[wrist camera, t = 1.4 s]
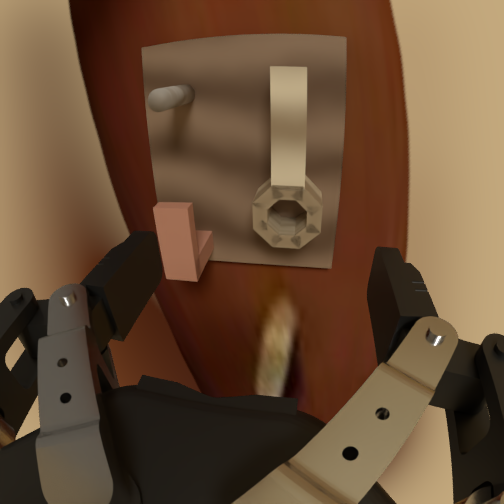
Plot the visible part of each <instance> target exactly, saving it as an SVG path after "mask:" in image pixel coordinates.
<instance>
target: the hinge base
mask: <svg viewBox="0 0 504 504" xmlns="http://www.w3.org/2000/svg"><path fill="white" fill-rule="evenodd" d="M142 65H143V80H144V93H145V104H146V115H147V125H148V134H149V143H150V151H151V159H152V167H153V174H154V181H155V188H156V195H157V201H158V203H159V202H186V203H193V212H194V221H195V229H196V230H201V231H212V234H213V244H214V249H213V251H212V253H211V255H210V257H209V259H208V260H214V261H228V262H242V263H256V264H270V265H285V266H300V267H315V268H331V266H332V258H333V250H334V242H335V234H336V225H337V216H338V206H339V196H340V185H341V173H342V160H343V145H344V127H345V104H346V37H339V36H326V35H309V34H250V35H232V36H219V37H209V38H200V39H192V40H184V41H178V42H171V43H165V44H159V45H154V46H149V47H144V48H142ZM270 66H288V67H307V132H306V166H305V175H306V176H307V177H308V178H309V179H310V180H311V181H312V182H313V183H314V184H315V186H316V187H317V188H318V189H319V190H320V191H321V193H322V203H323V209H322V221H321V233H320V234H318V235H317V236H316V237H314V238H313V239H312V240H311V241H309V242H308V243H307V244H305V245H304V246H303V247H301V248H300V249H296V248H280V247H272V246H271V245H270V244H269V243H268V242H267V241H265V240H264V239H263V238H262V237H261V236H260V235H259V234H258V233H257V232H256V231H255V230H254V229H253V206H252V203H253V200H254V198H255V195H256V193H257V190H258V188H259V187H260V186H262V185H263V184H264V183H265V182H266V181H267V180H268V179H269V178H270V177H271V99H270ZM272 208H273V209H274V210H275V211H276V212H277V213H278V214H279V215H280V216H281V217H291V218H296V217H298V216H299V215H300V214H301V213H303V212H304V211H305V209H304V208H303V207H302V206H301V205H300V204H299V203H298V202H297V201H296V200H278V201H277V202H276V203H275V204H273V205H272Z"/></svg>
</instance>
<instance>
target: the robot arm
mask: <svg viewBox="0 0 504 504" xmlns="http://www.w3.org/2000/svg"><path fill="white" fill-rule="evenodd" d="M161 278H162V263H161V258H160V253H159V248H158V242H157V237H156V235H155V233H154V232H151V231H134V232H133V233H132V234H131V235H130V236H129V237H128V238H127V239H126V240H125V241H124V242H123V243H121V244H119V245H117V246H116V247H114V248H112V249H111V250H110V251H109V252H108V253H107V254H106V256H105V257H104V258H103V259H102V260H101V261H100V262H99V264H98V265H96V266H95V268H93V270H92V271H91V272H90V273H89V274H88V275H87V276H86V277H85V279H84V280H83V281H82V282H81V283H80V284H68V285H65V286H63V287H61V288H59V289H58V290H56V291H55V292H54V293H53V294H52V295H51V297H50V299H47V300H36V298H35V296H34V294H33V292H32V290H31V289H29V288H20V289H17V290H15V291H13V292H12V293H10V294H9V295H8V296H7V297H6V298H5V299H4V300H3V301H2V302H1V303H0V504H396V503H395V501H394V500H393V499H392V498H391V497H390V496H389V495H388V493H386V491H385V490H384V489H383V488H382V487H381V485H380V484H379V483H378V482H377V480H378V478H379V477H380V476H381V474H382V473H383V472H384V471H385V469H386V468H387V467H388V465H389V464H390V462H391V461H392V459H393V458H394V457H395V455H396V454H397V453H398V451H399V450H400V448H401V447H402V445H403V444H404V442H405V441H406V440H407V438H408V436H409V435H410V433H411V432H412V430H413V429H414V427H415V426H416V424H417V422H418V421H419V419H420V417H421V416H422V414H423V412H424V411H425V409H426V407H427V406H428V405H432V406H436V407H440V408H444V409H445V412H446V418H447V426H448V432H449V442H450V451H451V462H452V476H453V500H454V504H504V336H503V335H500V334H489V335H488V336H486V337H485V339H484V340H483V342H482V344H481V345H479V344H475V343H471V342H467V341H463V340H460V339H458V334H457V332H456V330H455V329H454V327H453V326H452V325H451V324H450V323H448V322H447V321H445V320H443V319H441V318H439V317H438V314H437V312H436V309H435V307H434V305H433V302H432V299H431V297H430V295H429V292H427V288H426V285H425V284H424V281H423V278H422V276H421V274H420V272H419V271H418V270H417V269H416V268H415V267H414V266H413V265H412V264H411V263H404V261H403V259H402V256H401V254H400V251H399V249H398V248H389V247H377V248H376V250H375V254H374V259H373V264H372V268H371V273H370V277H369V282H368V288H367V301H368V307H369V312H370V318H371V324H372V329H373V336H374V342H375V348H376V355H377V362H378V367H377V368H376V370H375V371H374V372H373V373H372V374H371V376H370V377H369V378H368V379H367V381H366V382H365V383H364V384H363V385H362V386H361V388H360V389H359V390H358V391H357V392H356V393H355V394H354V396H353V397H352V398H351V399H350V400H349V401H348V402H347V403H346V405H345V406H344V407H343V408H342V409H341V410H340V411H339V412H338V413H337V414H336V415H335V416H334V418H333V419H332V420H331V421H330V422H329V423H328V424H325V423H324V422H323V421H321V420H319V419H317V418H316V417H314V416H312V415H309V414H307V413H305V412H302V411H298V410H297V401H298V399H295V398H283V397H273V396H263V395H249V396H237V397H221V398H214V397H210V396H207V395H205V394H202V393H200V392H198V391H195V390H193V389H191V388H188V387H186V386H184V385H182V384H180V383H177V382H173V381H168V380H164V379H159V378H154V377H150V376H146V375H142V377H141V379H140V381H139V383H138V385H131V386H124V387H120V386H119V383H118V379H117V375H116V371H115V367H114V363H113V358H112V354H111V350H110V347H109V345H108V343H109V341H110V339H115V340H118V341H124V340H125V338H126V336H127V335H128V333H129V331H130V330H131V328H132V326H133V325H134V323H135V321H136V320H137V318H138V316H139V315H140V313H141V312H142V310H143V308H144V307H145V305H146V304H147V302H148V300H149V299H150V297H151V296H152V294H153V292H154V291H155V289H156V288H157V286H158V285H159V283H160V281H161ZM17 337H18V338H19V339H20V341H21V343H22V344H23V346H24V348H25V350H24V352H23V353H22V355H21V356H20V358H19V359H18V360H17V362H16V364H15V365H14V367H13V368H12V370H11V371H10V370H9V369H8V368H7V366H6V363H5V356H6V353H7V351H8V350H9V348H10V347H11V345H12V344H13V343H14V341H15V340H16V339H17ZM37 396H38V401H39V417H40V428H39V429H37V430H35V431H33V432H31V433H29V434H27V435H25V436H24V437H21V438H19V439H17V440H15V437H16V435H17V433H18V431H19V429H20V427H21V426H22V423H23V422H24V420H25V418H26V416H27V414H28V412H29V410H30V408H31V406H32V405H33V403H34V401H35V399H36V397H37ZM487 407H488V408H487ZM488 412H489V413H488ZM489 416H490V417H489Z"/></svg>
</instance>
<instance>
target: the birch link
mask: <svg viewBox="0 0 504 504" xmlns="http://www.w3.org/2000/svg"><path fill="white" fill-rule="evenodd" d="M270 99H271V177H270V178H269V179H268V180H267V181H266V182H265V183H264V184H263V185H262V186H260V187H259V188H258V190H257V193H256V195H255V198H254V200H253V203H252V206H253V229H254V230H255V231H256V232H257V233H258V234H259V235H260V236H261V237H262V238H263V239H264V240H265V241H267V242H268V243H269V244H270V245H271V246H272V247H280V248H296V249H300V248H301V247H303V246H304V245H305V244H307V243H308V242H309V241H311V240H312V239H313V238H314V237H316V236H317V235H318V234H320V233H321V221H322V209H323V203H322V193H321V191H320V190H319V189H318V188H317V187H316V186H315V184H314V183H313V182H312V181H311V180H310V179H309V178H308V177H307V176H306V175H305V166H306V132H307V67H288V66H270ZM278 200H296V201H297V202H298V203H299V204H300V205H301V206H302V207H303V208H304V209H305V211H304V212H303V213H301V214H300V215H299V216H298V217H296V218H291V217H281V216H280V215H279V214H278V213H277V212H276V211H275V210H274V209H273V208H272V205H273V204H275V203H276V202H277V201H278Z"/></svg>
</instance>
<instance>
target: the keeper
mask: <svg viewBox="0 0 504 504" xmlns="http://www.w3.org/2000/svg"><path fill="white" fill-rule="evenodd" d="M153 211H154V217H155V223H156V228H157V234H158V239H159V244H160V249H161V254H162V259H163V264H164V269H165V274H166V279H174V280H184V281H195V282H198V280H199V278H200V276H201V273H202V271H203V269H204V267H205V265H206V263H207V261H208V259H209V257H210V255H211V253H212V251H213V249H214V244H213V234H212V231H201V230H196V229H195V221H194V212H193V203H186V202H159V203H158V204H157V205H156V206H155V207H154V208H153Z"/></svg>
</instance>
